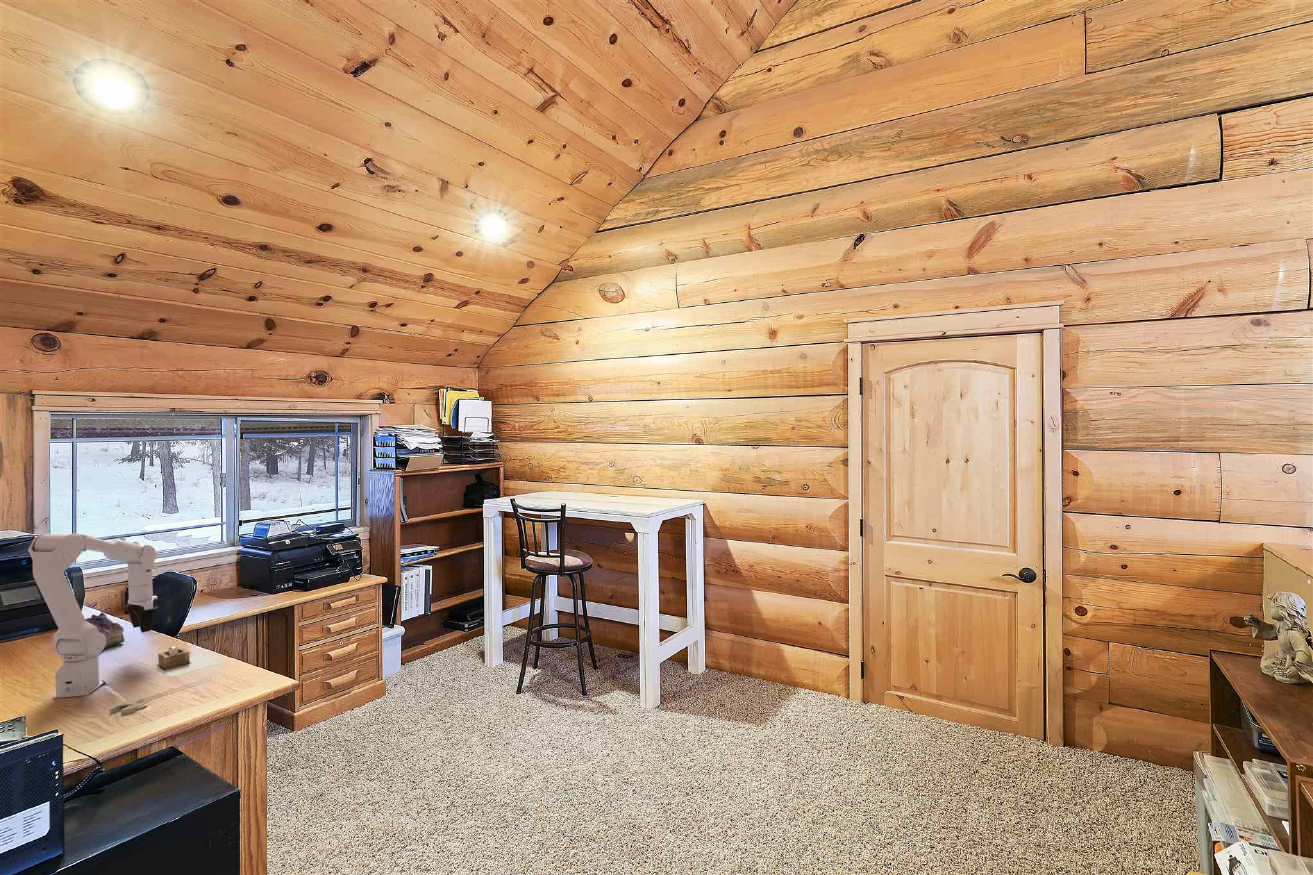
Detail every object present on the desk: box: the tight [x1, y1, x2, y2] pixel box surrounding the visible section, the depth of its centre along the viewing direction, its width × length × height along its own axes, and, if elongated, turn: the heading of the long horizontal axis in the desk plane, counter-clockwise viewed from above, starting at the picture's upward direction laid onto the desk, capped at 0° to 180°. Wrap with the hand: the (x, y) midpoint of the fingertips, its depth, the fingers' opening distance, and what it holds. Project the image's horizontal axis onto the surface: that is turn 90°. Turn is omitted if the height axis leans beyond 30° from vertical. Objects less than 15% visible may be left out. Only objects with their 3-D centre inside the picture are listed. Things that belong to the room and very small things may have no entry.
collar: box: [157, 647, 191, 669], centre depth 194 cm, size 6×6×3 cm
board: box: [153, 654, 219, 678], centre depth 193 cm, size 14×12×1 cm
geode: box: [85, 611, 125, 649], centre depth 215 cm, size 20×12×10 cm, turn 53°
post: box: [155, 645, 191, 670], centre depth 194 cm, size 7×7×5 cm
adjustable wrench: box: [109, 677, 212, 716], centre depth 173 cm, size 25×6×2 cm, turn 145°
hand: (141, 629), depth 197 cm, fingers open, 7 cm apart
